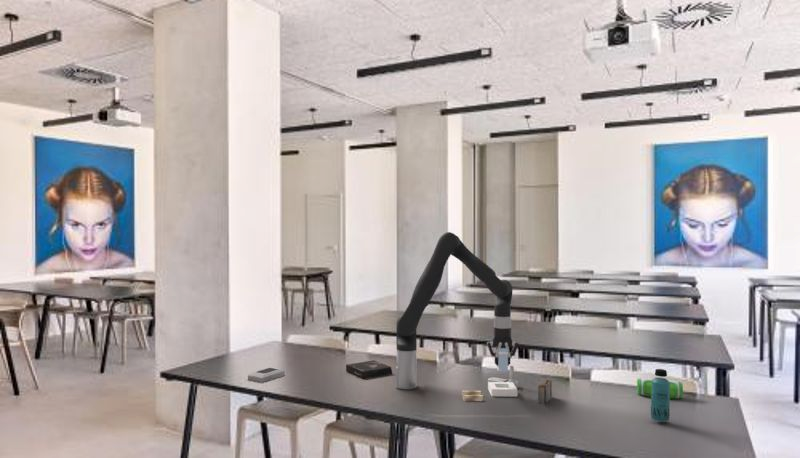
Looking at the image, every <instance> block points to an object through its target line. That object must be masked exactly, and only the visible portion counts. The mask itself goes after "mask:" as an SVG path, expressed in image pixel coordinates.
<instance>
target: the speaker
mask: <svg viewBox="0 0 800 458" xmlns="http://www.w3.org/2000/svg"><path fill="white" fill-rule="evenodd" d="M653 379H654V378H648V377H647V378H646V377H640V378H637V380H636V387H637V388H636V389H637V391H636V393H637V394H638V395H640V396H645V397H651V398H652V380H653ZM667 380H668V381H669V382H670V399H682V398H683V397H684V387H683V382H681V381H678V380H673V379H670V380H669V379H667Z"/></svg>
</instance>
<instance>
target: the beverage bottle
mask: <svg viewBox="0 0 800 458" xmlns="http://www.w3.org/2000/svg"><path fill="white" fill-rule="evenodd" d="M654 376H657V377H654V378H652V379H653V380H652V397H651V400H650V402H651V404H650V417H651V419H652V420H654V421H657V422H658V421H659V422H668V421H669V420H670V403H671V401H670V399H671V398H670V382H669V381H668V380H669V379H667V378H666V377H668V371H667V370H666V369H662V368H657V369H655V371H654Z"/></svg>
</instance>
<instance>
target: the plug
mask: <svg viewBox="0 0 800 458" xmlns="http://www.w3.org/2000/svg"><path fill="white" fill-rule="evenodd" d="M496 368H497V369H496V370H497V371H498V372H509V366H508V348H498V366H497V365H496Z"/></svg>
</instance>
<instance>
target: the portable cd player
mask: <svg viewBox="0 0 800 458" xmlns="http://www.w3.org/2000/svg"><path fill="white" fill-rule="evenodd" d="M345 372H346V373H348V374H350V375H353V376H355V377H357V378H359V379H362V380H366V379H370V378H371V377H372V378H377V377H383V376H388V374H389V375H392V374H393V370H392V366H389V365H387V364H385V363H382V362H380V361H377V360H374V359H373V360H367V361H361V362H355V363H349V364H346V365H345ZM382 375H383V376H382Z"/></svg>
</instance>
